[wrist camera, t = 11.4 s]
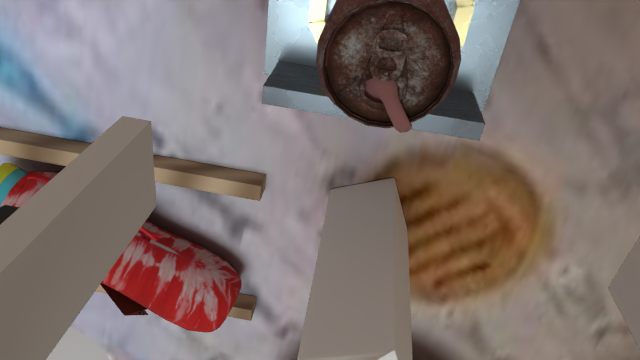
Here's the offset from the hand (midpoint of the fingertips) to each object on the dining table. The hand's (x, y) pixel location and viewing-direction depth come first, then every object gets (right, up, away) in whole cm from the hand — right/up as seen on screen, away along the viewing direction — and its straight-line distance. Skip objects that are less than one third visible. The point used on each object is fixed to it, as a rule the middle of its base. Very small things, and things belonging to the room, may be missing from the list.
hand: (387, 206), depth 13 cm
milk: (+3, -2, +33) cm, 33 cm away
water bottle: (-22, -4, +38) cm, 44 cm away
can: (+3, +13, +19) cm, 23 cm away
